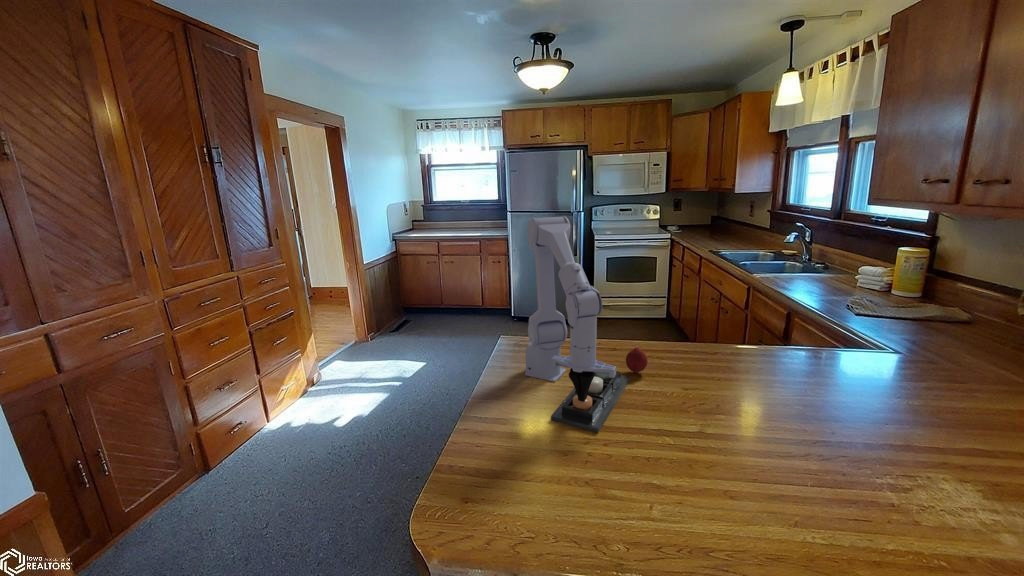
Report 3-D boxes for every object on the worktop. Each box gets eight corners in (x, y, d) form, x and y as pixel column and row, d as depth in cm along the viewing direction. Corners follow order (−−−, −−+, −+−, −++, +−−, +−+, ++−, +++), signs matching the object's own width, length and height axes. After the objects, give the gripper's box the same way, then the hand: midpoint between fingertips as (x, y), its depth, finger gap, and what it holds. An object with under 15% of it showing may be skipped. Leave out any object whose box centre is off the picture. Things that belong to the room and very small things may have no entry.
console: (550, 420, 93) (550, 408, 92) (590, 373, 116) (590, 363, 115) (598, 433, 88) (598, 420, 87) (629, 380, 111) (629, 370, 110)
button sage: (592, 378, 107) (592, 369, 107) (597, 371, 111) (598, 363, 110) (609, 381, 105) (609, 372, 105) (614, 374, 109) (614, 366, 108)
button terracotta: (570, 411, 94) (570, 401, 93) (576, 402, 98) (576, 392, 97) (588, 415, 92) (588, 405, 91) (594, 406, 96) (594, 396, 95)
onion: (648, 378, 112) (649, 351, 110) (626, 377, 113) (627, 349, 111) (645, 369, 117) (646, 342, 115) (624, 368, 118) (625, 342, 116)
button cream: (582, 391, 101) (582, 382, 100) (588, 384, 104) (588, 375, 104) (599, 395, 98) (599, 386, 98) (605, 387, 102) (605, 378, 102)
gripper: (545, 344, 91) (546, 400, 94) (610, 355, 84) (608, 415, 87) (558, 334, 97) (558, 387, 100) (619, 344, 90) (617, 400, 93)
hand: (582, 399), depth 94 cm, fingers closed, pressing on button terracotta
